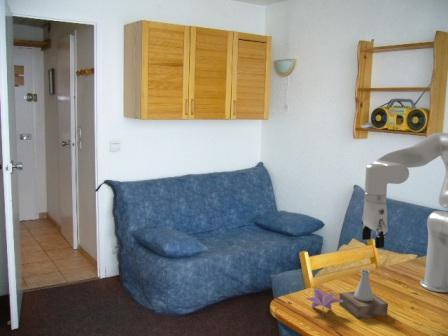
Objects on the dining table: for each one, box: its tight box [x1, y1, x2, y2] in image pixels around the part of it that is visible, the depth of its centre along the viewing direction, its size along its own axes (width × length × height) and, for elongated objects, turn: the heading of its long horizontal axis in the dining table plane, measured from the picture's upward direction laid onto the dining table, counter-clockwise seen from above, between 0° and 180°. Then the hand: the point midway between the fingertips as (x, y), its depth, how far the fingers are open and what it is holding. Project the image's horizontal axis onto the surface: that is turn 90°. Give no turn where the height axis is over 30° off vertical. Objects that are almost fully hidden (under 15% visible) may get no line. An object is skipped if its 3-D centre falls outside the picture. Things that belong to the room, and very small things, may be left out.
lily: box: [304, 288, 343, 319], centre depth 165 cm, size 12×12×10 cm
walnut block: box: [338, 290, 389, 320], centre depth 169 cm, size 12×12×5 cm
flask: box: [353, 269, 374, 301], centre depth 168 cm, size 7×7×10 cm
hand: (372, 243), depth 172 cm, fingers open, 9 cm apart
